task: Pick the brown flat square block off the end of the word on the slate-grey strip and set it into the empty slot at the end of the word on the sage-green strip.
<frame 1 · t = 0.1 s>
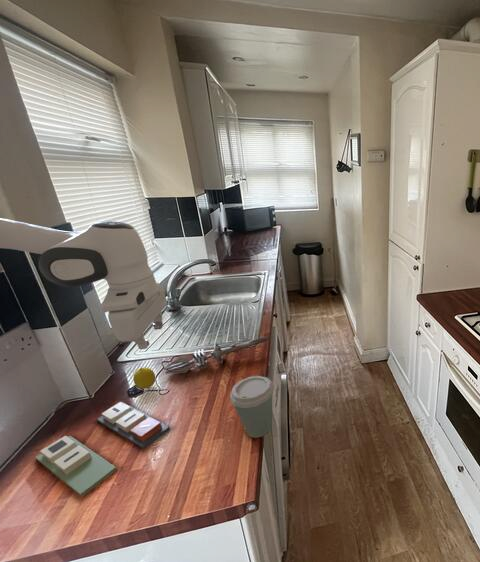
hand: (152, 337, 79), 26 cm above the worktop, tool pointing down, fingers open, 8 cm apart
disposable coffee cup: (261, 428, 84), on the worktop
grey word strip: (133, 425, 86), on the worktop
lemon: (148, 388, 100), on the worktop
brown flat square block: (147, 431, 83), point 1 cm above the worktop, touching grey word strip
spaceship: (221, 362, 112), on the worktop
green word strip: (76, 464, 75), on the worktop
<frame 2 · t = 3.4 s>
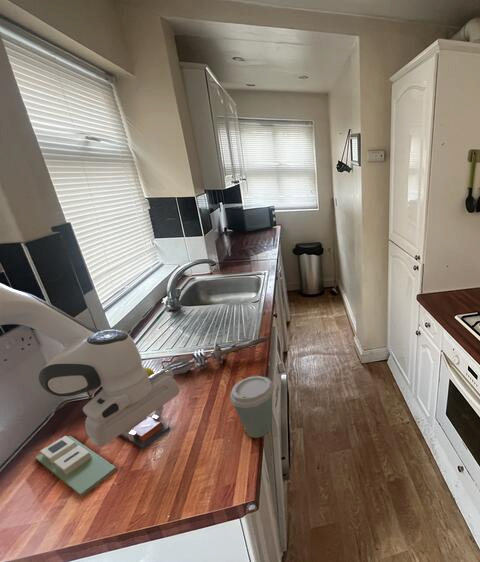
hand: (146, 429, 83), 2 cm above the worktop, tool pointing down, fingers closed on brown flat square block, 5 cm apart
brown flat square block: (147, 431, 83), point 1 cm above the worktop, touching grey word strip, gripper
everything else where it was.
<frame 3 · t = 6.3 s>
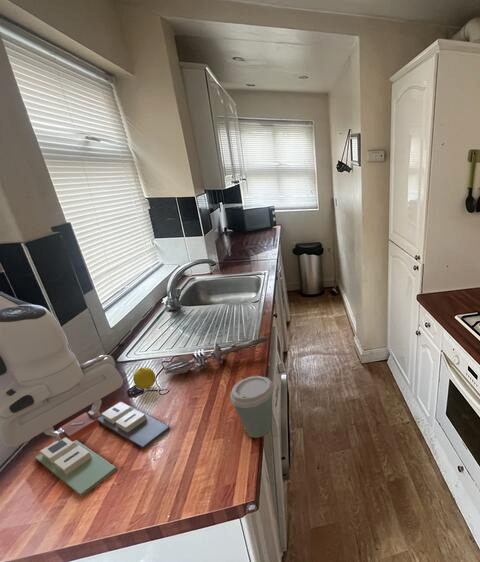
hand: (79, 427, 69), 13 cm above the worktop, tool pointing down, fingers closed on brown flat square block, 5 cm apart
brown flat square block: (80, 429, 69), point 13 cm above the worktop, touching gripper
everything else where it was.
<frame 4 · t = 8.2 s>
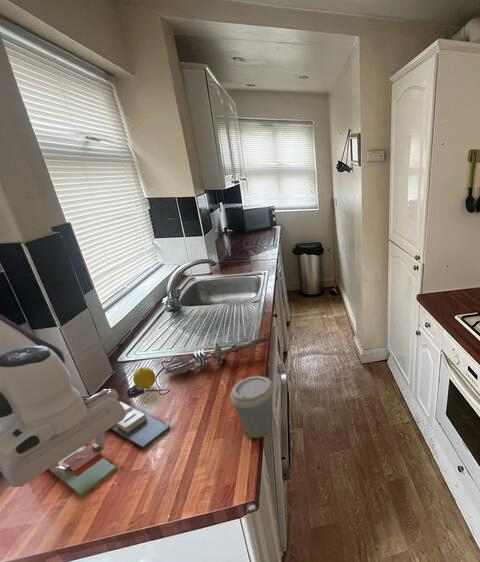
hand: (83, 460, 71), 5 cm above the worktop, tool pointing down, fingers closed on brown flat square block, 5 cm apart
brown flat square block: (85, 462, 71), point 4 cm above the worktop, touching gripper
everything else where it was.
when the fingers open (2 cm above the worktop, at t = 9.5 s): brown flat square block stays where it is, resting on green word strip.
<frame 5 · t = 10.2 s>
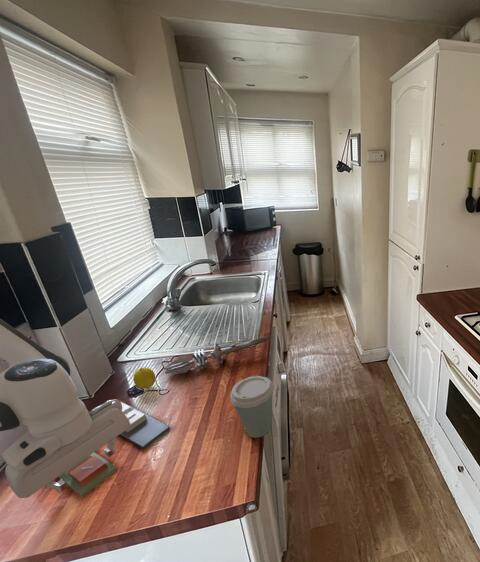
hand: (88, 470, 72), 2 cm above the worktop, tool pointing down, fingers open, 8 cm apart
brown flat square block: (90, 473, 72), point 1 cm above the worktop, touching green word strip
everything else where it was.
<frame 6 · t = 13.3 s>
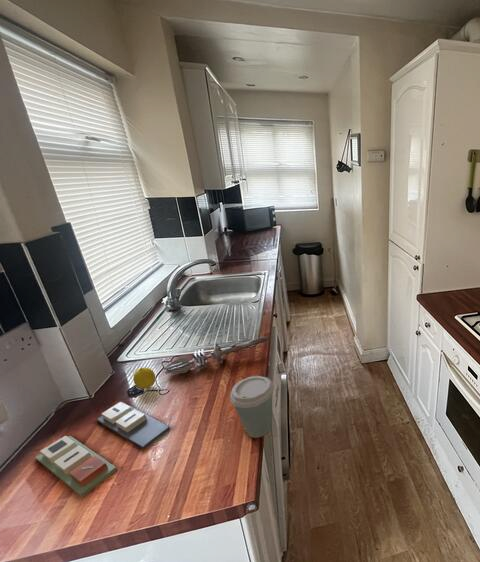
nothing on the worktop moved.
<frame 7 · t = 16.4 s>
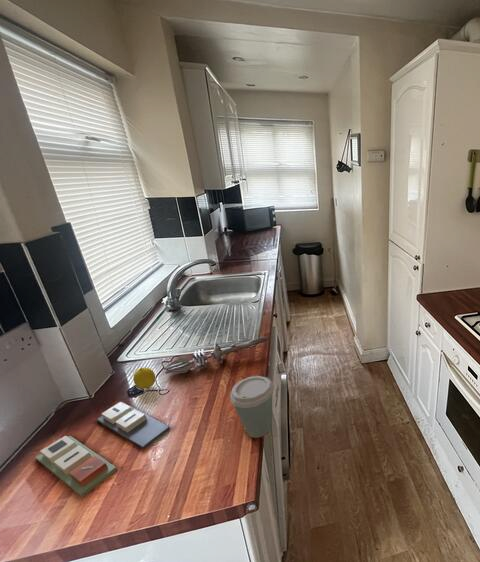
nothing on the worktop moved.
at the end: brown flat square block 0.1 cm from the target spot, point 1.0 cm above the worktop; brown flat square block tilted 0°; the gripper is holding nothing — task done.
